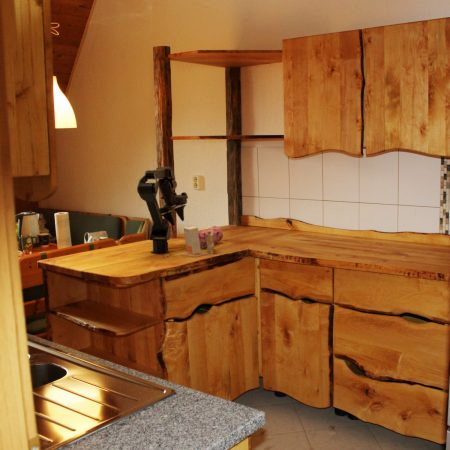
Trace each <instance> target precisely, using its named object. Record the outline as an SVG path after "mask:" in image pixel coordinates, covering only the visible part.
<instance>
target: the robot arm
mask: <svg viewBox="0 0 450 450" xmlns="http://www.w3.org/2000/svg"><path fill="white" fill-rule="evenodd" d="M148 180H155V182H148ZM177 187H178V183H177V181H176V177H175V173H174V169H173V168H172V167H171V166H158V167H156V168H155V169H153V170H149V169H148V170H146V171H145V173H144V175H143V176H142V177H141V178H140V179H139V180H138V183H137V189H136V190H137V193H138V195H139V197H140V199H141V200H142V201H144V202H145V203H146V206H147V209H148V211H149V215H150V218H151V220H152V225H151V228H150V233H149V236H148V237H149V238H148V239H149V240H150V241H152V251H151V252H150V253H151V254H156V255H163V254H168V253H170V252H171V251H169V242H168V241H169V240H170V239H171V226H173V227H174V226H175V225H176V222H175V220H174V219H175V218H174V215H173V214H174V211H175V213H176V215H177V216H178V218H179V219H180V220H181V222H184V221H185V214H184V212H185V211H184V210H185V207H186V206H187V204H188V199H189V197H188V195H187V192H181V194H177V192H175V190H176V189H177ZM158 191H160V194H161V197H160V199H161V200H163V202H164V205H163V206H162V207H160V205H159V203H158V200H157V195H158ZM170 224H171V226H170Z"/></svg>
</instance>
